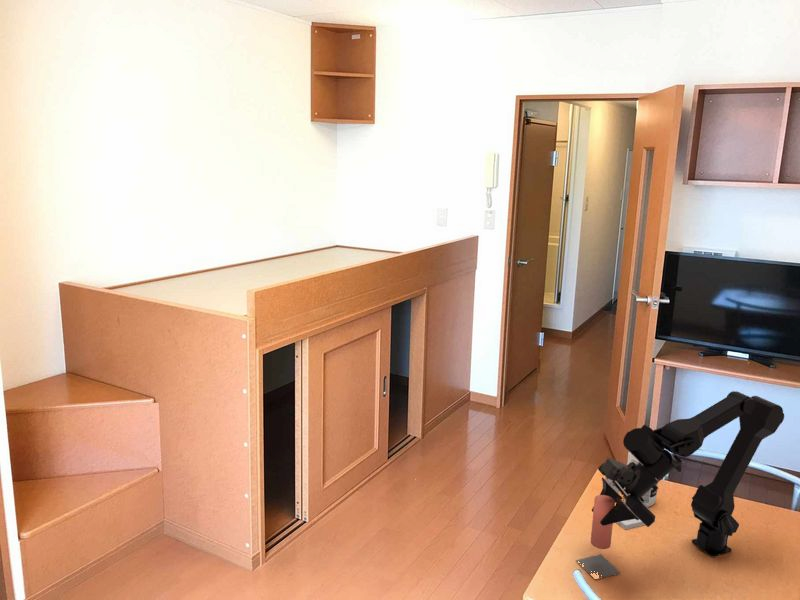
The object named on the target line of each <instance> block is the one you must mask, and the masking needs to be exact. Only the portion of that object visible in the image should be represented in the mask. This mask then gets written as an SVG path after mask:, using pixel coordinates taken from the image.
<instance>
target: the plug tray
mask: <svg viewBox="0 0 800 600" xmlns="http://www.w3.org/2000/svg"><path fill="white" fill-rule="evenodd" d="M616 524H618V525H619V526H620V527H622V529H624V530H629V529H634V528H637V527H640V526H646V525H645V524H644V523H643V522H642V521H641V520H640V519H639V520H636V519H632V520H626V521H621V522H616Z"/></svg>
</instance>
